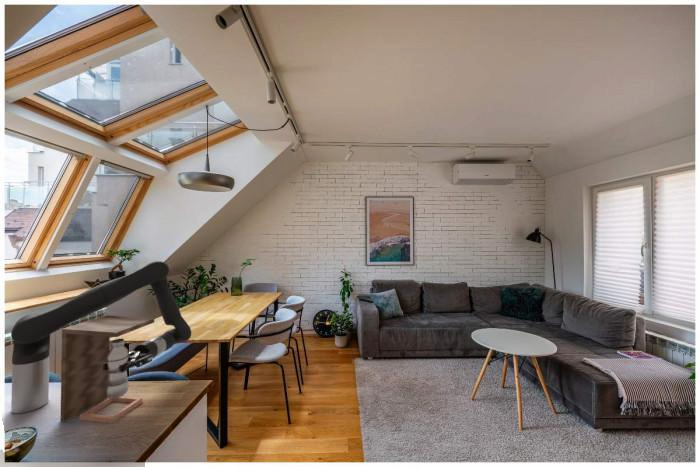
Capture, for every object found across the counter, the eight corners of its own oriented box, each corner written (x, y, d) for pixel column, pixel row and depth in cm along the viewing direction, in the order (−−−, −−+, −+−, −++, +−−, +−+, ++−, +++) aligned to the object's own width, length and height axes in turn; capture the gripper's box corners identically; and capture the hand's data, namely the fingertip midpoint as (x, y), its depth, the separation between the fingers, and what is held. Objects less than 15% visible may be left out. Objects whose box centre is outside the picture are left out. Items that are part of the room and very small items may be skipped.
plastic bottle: (102, 402, 100) (102, 345, 100) (110, 392, 107) (110, 338, 106) (124, 399, 103) (125, 343, 102) (131, 389, 109) (131, 336, 109)
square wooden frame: (113, 398, 112) (113, 395, 112) (142, 401, 111) (142, 397, 111) (79, 419, 100) (79, 415, 100) (112, 423, 99) (112, 418, 99)
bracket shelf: (105, 395, 115) (106, 315, 115) (152, 399, 112) (154, 318, 112) (60, 421, 99) (62, 328, 99) (114, 427, 97) (116, 332, 96)
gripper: (134, 338, 120) (94, 356, 103) (166, 341, 118) (130, 359, 102) (134, 357, 120) (93, 377, 103) (166, 359, 118) (130, 381, 102)
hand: (112, 368), depth 103 cm, fingers closed on plastic bottle, 6 cm apart
